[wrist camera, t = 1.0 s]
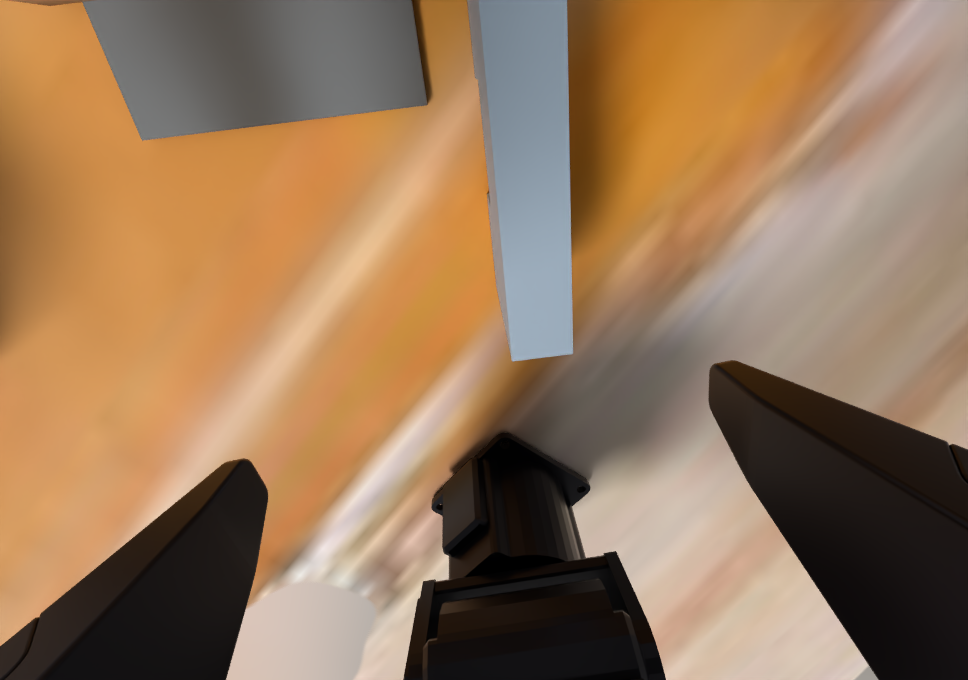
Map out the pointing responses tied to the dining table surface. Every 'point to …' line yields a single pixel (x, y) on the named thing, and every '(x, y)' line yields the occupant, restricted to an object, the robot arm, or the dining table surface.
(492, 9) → the pale blue slat
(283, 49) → the slotted base
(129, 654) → the robot arm
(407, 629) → the dining table surface
